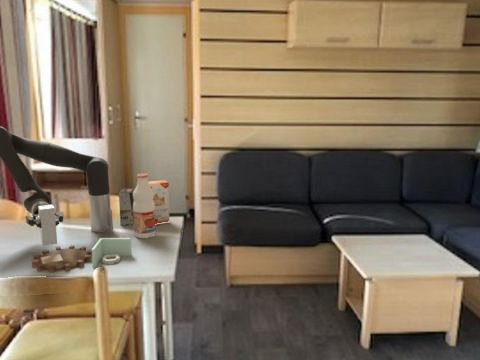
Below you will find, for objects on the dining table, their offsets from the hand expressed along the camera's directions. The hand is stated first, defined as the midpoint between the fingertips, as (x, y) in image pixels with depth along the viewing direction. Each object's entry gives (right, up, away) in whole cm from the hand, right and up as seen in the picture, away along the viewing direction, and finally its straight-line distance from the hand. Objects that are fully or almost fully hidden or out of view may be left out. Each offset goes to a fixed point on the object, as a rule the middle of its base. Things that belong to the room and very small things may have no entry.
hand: (48, 224), depth 165 cm
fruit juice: (+28, -9, +36) cm, 47 cm away
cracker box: (+29, -5, +52) cm, 60 cm away
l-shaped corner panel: (+21, -16, +9) cm, 28 cm away
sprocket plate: (+2, -15, +8) cm, 17 cm away
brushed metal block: (-2, -7, +4) cm, 8 cm away
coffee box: (+16, -4, +54) cm, 57 cm away
